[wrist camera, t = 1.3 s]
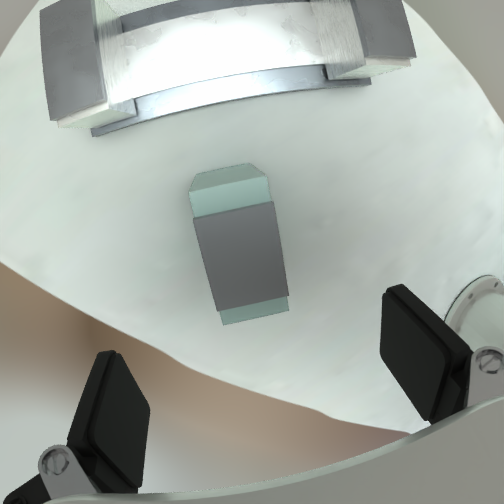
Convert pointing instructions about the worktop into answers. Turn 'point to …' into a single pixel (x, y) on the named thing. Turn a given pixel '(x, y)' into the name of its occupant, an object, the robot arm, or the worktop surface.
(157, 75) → the grey blocky piece
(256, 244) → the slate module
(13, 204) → the worktop surface
